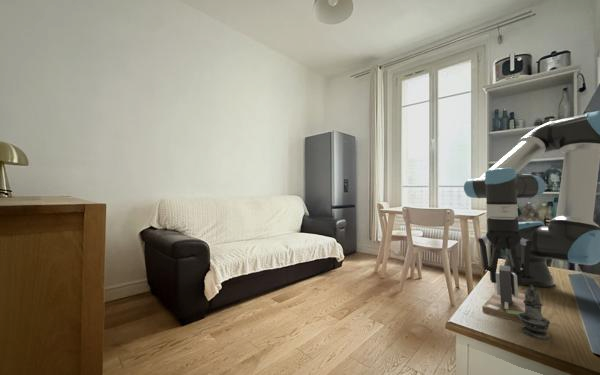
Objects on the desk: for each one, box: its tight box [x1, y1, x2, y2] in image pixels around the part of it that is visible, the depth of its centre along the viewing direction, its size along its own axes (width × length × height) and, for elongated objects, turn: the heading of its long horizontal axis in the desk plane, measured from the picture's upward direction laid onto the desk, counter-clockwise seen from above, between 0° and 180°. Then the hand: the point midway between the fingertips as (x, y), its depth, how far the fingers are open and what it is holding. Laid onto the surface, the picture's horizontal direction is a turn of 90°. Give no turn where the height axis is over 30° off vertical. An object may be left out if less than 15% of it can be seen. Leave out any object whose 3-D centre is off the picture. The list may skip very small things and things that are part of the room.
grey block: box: [498, 264, 513, 309], centre depth 74 cm, size 10×3×10 cm, turn 140°
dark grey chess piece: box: [518, 285, 551, 340], centre depth 62 cm, size 6×6×12 cm
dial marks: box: [486, 305, 523, 315], centre depth 71 cm, size 3×9×1 cm, turn 46°
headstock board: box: [481, 292, 525, 323], centre depth 76 cm, size 20×10×2 cm, turn 130°
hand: (506, 294), depth 75 cm, fingers closed on grey block, 3 cm apart
